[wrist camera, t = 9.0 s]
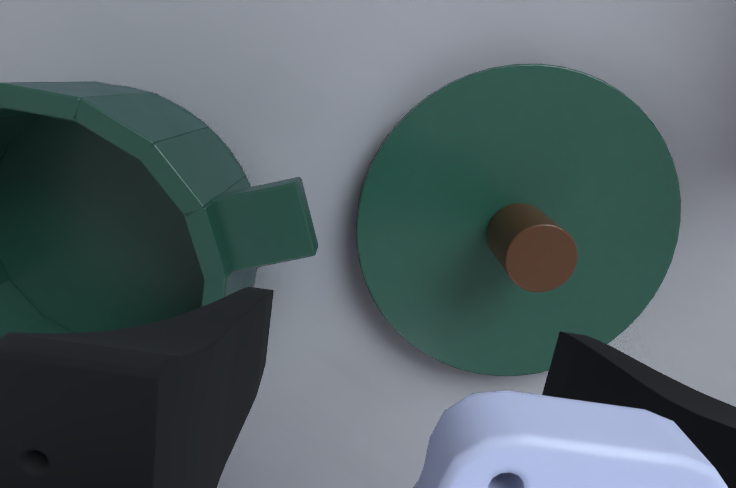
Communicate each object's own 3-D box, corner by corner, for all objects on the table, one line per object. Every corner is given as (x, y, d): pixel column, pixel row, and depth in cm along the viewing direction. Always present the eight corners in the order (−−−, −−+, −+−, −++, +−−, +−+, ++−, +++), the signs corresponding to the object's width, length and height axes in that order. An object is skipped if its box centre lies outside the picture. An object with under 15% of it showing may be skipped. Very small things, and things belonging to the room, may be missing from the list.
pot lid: (675, 334, 24) (739, 388, 19) (390, 386, 24) (394, 448, 20) (656, 30, 20) (728, 18, 16) (325, 104, 21) (313, 110, 17)
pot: (352, 317, 24) (346, 392, 18) (-15, 388, 25) (-130, 480, 19) (285, 37, 20) (252, 22, 15) (-133, 134, 21) (-313, 155, 16)
